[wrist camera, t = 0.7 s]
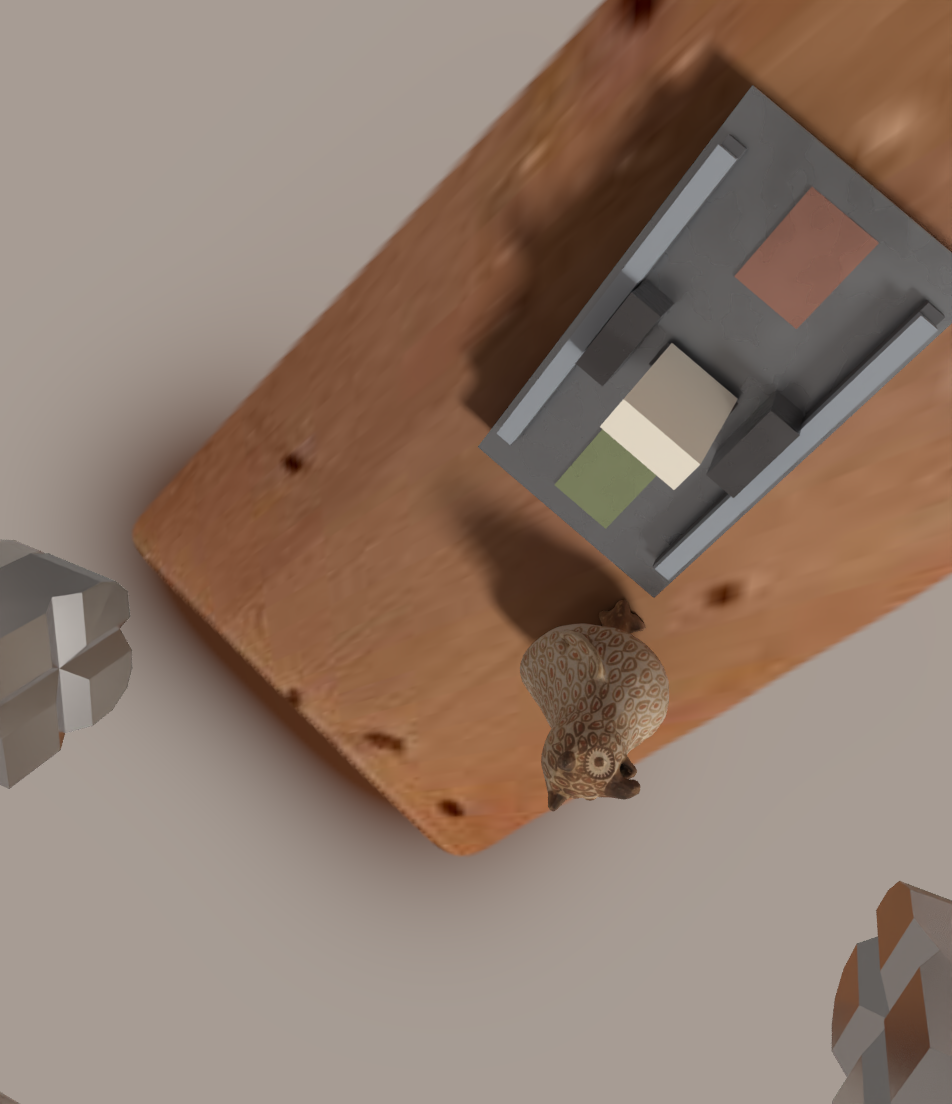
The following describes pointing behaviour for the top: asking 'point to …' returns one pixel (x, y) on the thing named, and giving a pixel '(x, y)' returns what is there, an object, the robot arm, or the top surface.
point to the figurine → (595, 704)
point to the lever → (671, 416)
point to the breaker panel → (730, 335)
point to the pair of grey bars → (813, 424)
